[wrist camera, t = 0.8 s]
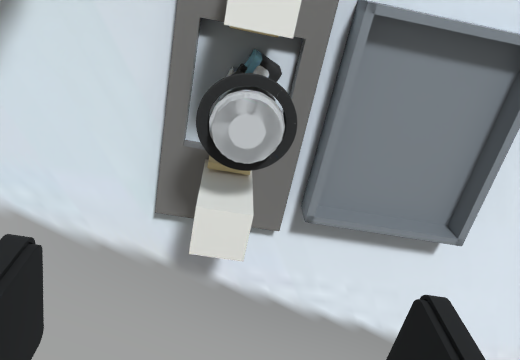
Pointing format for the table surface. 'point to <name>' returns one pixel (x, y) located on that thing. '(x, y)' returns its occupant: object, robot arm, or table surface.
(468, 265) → the table surface
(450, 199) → the tray
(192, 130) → the table surface
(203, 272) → the table surface
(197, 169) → the block
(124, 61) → the table surface
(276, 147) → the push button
